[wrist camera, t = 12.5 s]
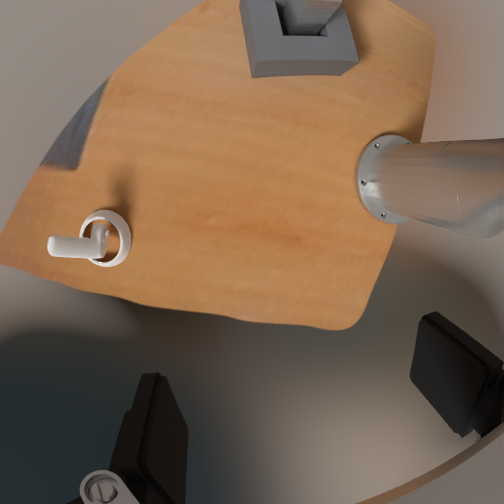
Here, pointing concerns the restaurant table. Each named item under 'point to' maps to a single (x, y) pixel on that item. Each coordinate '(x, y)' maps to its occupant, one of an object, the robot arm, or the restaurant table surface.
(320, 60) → the well block
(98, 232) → the hook
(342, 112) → the restaurant table surface
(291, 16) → the steel post
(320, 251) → the restaurant table surface
